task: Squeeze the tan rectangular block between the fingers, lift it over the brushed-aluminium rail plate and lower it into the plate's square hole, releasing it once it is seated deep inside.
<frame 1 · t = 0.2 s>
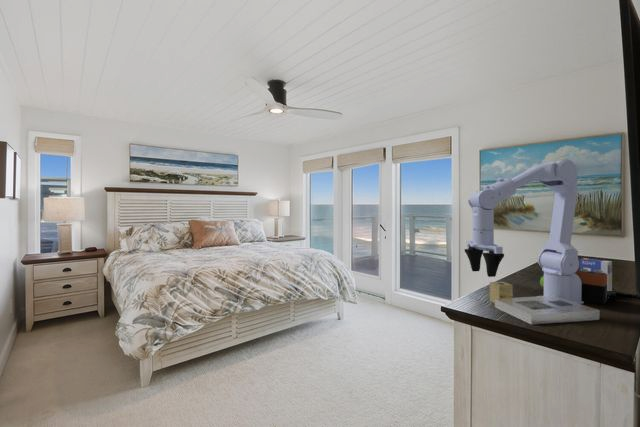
hand: (483, 273, 99), 10 cm above the table, tool pointing down, fingers open, 7 cm apart
rail plate: (543, 313, 91), on the table
snail figurine: (548, 290, 114), on the table
tan rectangular block: (500, 302, 101), on the table
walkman: (595, 295, 108), on the table
battery: (591, 301, 101), on the table
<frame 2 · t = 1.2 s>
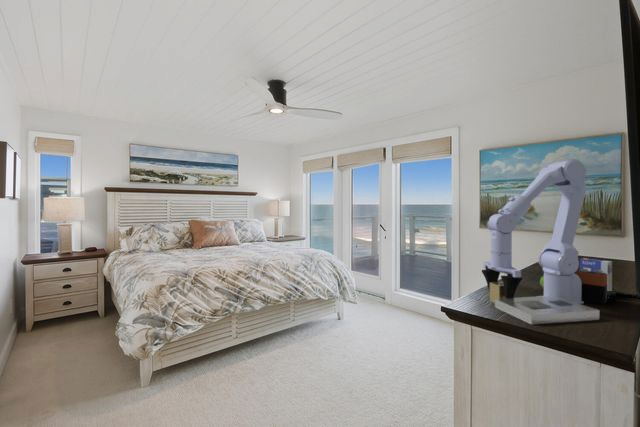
hand: (500, 295, 101), 2 cm above the table, tool pointing down, fingers open, 7 cm apart
nothing on the table moved.
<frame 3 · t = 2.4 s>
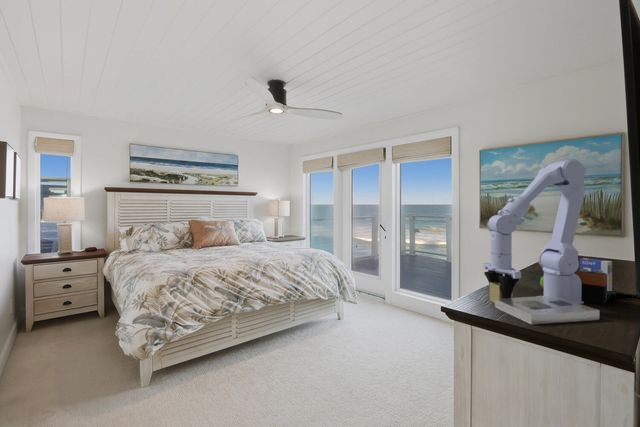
hand: (500, 296, 101), 2 cm above the table, tool pointing down, fingers closed on tan rectangular block, 4 cm apart
tan rectangular block: (500, 302, 101), on the table, touching gripper
everything else where it was.
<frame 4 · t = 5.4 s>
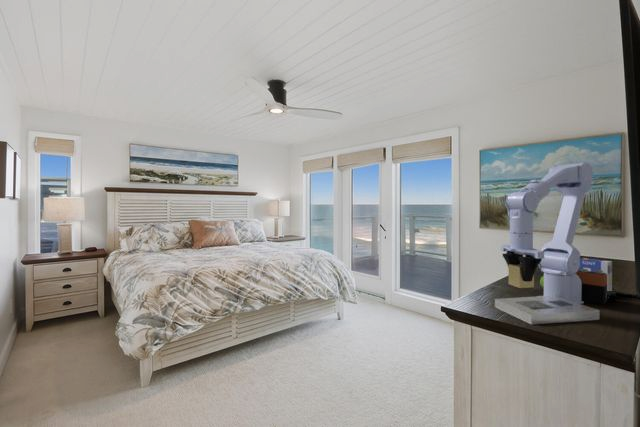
hand: (521, 279, 94), 9 cm above the table, tool pointing down, fingers closed on tan rectangular block, 4 cm apart
tan rectangular block: (520, 285, 94), point 7 cm above the table, touching gripper
everything else where it was.
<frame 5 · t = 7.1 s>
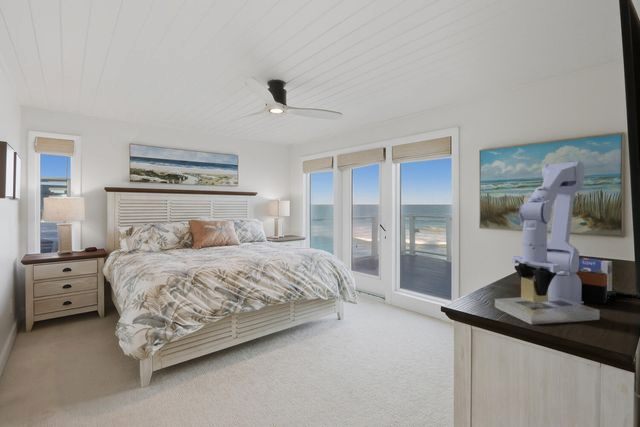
hand: (534, 292, 90), 6 cm above the table, tool pointing down, fingers closed on tan rectangular block, 4 cm apart
tan rectangular block: (534, 299, 90), point 4 cm above the table, touching gripper
everything else where it was.
when the fingers open (3 cm above the table, at t = 8.5 s): tan rectangular block drops 2 cm, resting in rail plate.
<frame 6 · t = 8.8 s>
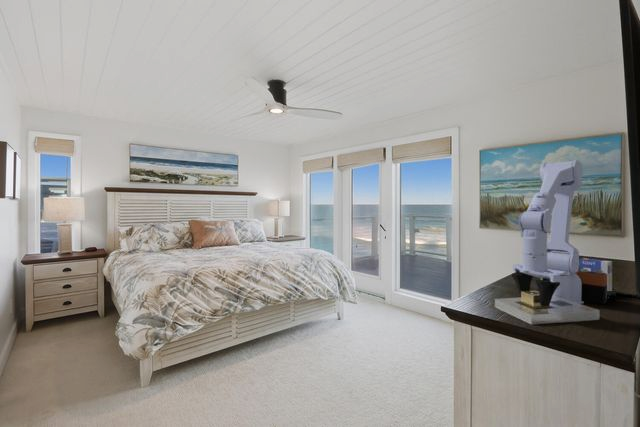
hand: (534, 301, 90), 3 cm above the table, tool pointing down, fingers open, 7 cm apart
tan rectangular block: (534, 313, 90), resting in rail plate
everything else where it was.
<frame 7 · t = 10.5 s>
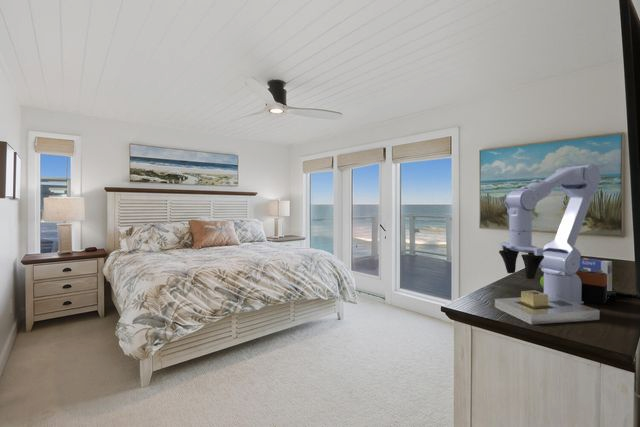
hand: (520, 275, 97), 9 cm above the table, tool pointing down, fingers open, 7 cm apart
nothing on the table moved.
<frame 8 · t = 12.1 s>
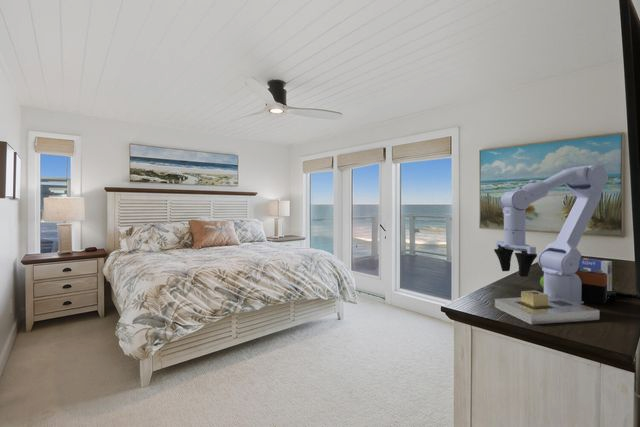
hand: (514, 273, 99), 9 cm above the table, tool pointing down, fingers open, 7 cm apart
nothing on the table moved.
at the end: tan rectangular block 0.0 cm from the target spot, resting in rail plate; tan rectangular block tilted 0°; the gripper is holding nothing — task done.
